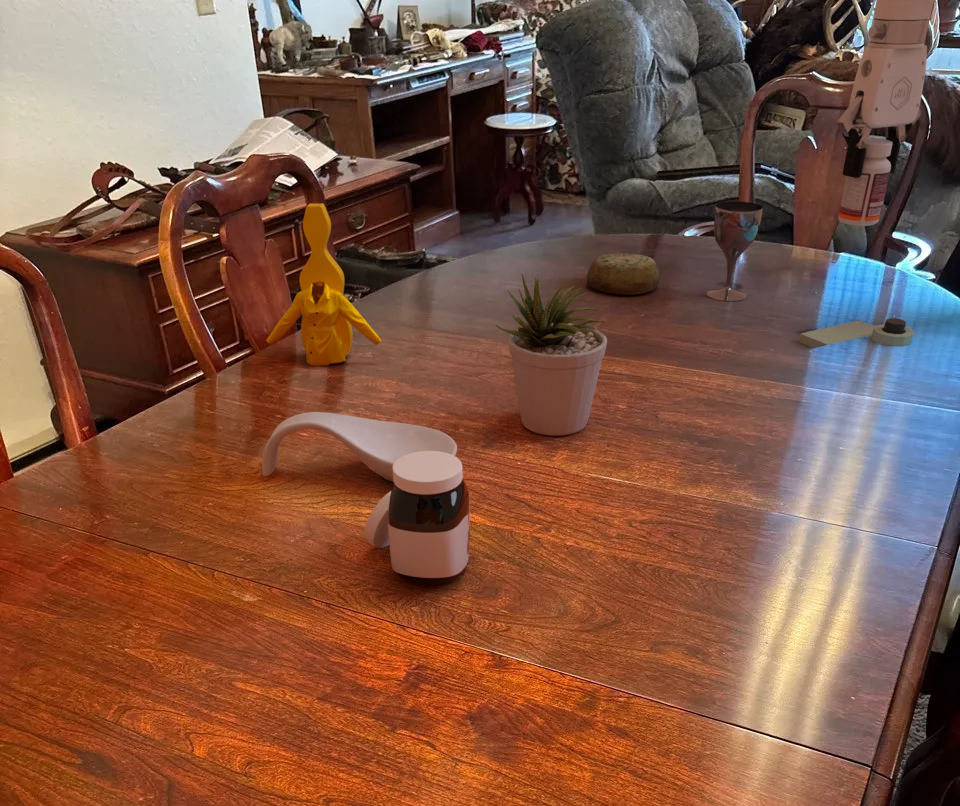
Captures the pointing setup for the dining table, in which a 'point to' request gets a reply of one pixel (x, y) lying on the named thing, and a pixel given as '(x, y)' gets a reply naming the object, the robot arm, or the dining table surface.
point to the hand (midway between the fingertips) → (868, 172)
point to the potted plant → (554, 363)
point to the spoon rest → (362, 439)
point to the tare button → (894, 326)
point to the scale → (855, 335)
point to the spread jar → (424, 519)
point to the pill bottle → (867, 186)
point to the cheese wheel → (623, 274)
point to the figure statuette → (322, 300)
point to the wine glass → (734, 239)
